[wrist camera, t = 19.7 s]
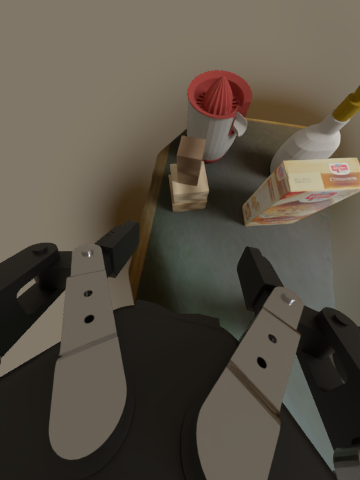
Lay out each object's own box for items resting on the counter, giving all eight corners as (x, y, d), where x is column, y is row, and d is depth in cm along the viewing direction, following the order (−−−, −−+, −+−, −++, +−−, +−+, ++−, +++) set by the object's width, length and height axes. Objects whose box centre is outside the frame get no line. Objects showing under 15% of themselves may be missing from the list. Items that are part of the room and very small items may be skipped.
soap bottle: (264, 186, 49) (354, 92, 24) (260, 163, 52) (338, 54, 26) (307, 185, 50) (441, 90, 24) (301, 162, 52) (418, 52, 26)
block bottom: (199, 181, 50) (201, 171, 45) (204, 208, 48) (207, 201, 43) (169, 184, 50) (168, 174, 45) (173, 212, 47) (172, 205, 43)
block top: (201, 173, 45) (203, 161, 40) (205, 200, 43) (209, 191, 38) (171, 176, 45) (170, 164, 40) (174, 204, 43) (173, 194, 38)
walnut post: (200, 169, 39) (205, 139, 31) (197, 186, 38) (201, 159, 30) (182, 166, 40) (181, 135, 31) (177, 182, 39) (176, 155, 30)
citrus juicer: (214, 180, 50) (236, 119, 30) (175, 151, 53) (173, 77, 33) (242, 151, 53) (279, 78, 33) (204, 125, 55) (217, 43, 36)
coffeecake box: (244, 226, 46) (290, 192, 27) (241, 205, 48) (281, 158, 29) (292, 224, 46) (371, 188, 27) (287, 203, 48) (358, 155, 29)
